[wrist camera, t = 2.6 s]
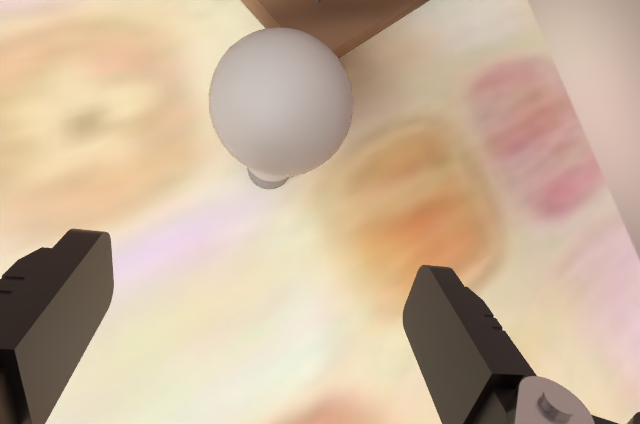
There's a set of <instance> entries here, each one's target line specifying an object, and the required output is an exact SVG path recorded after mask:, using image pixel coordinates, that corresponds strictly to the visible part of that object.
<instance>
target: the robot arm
mask: <svg viewBox="0 0 640 424" xmlns="http://www.w3.org/2000/svg"><path fill="white" fill-rule="evenodd" d="M113 288H114V280H113V265H112V251H111V239H110V235H109V234H108V233H107V232H101V231H91V230H81V229H70V230H69V231H68V232H67V233H66V234H65V235H64V236H63V237H62V238H61V239H60V240H59V242H58V243H57V244H56V245H55V246H54V247H53V248H43V247H42V248H40V249H38V250H36V251H34V252H32V253H30V254H28V255H27V256H25V257H23V258H21V259H19V260H18V261H17V262H15V263H14V264H13V265H12V266H11V267H10V268H9V269H8V270H7V271H6V272H5V273H4V274H3V275H2V278H1V279H0V424H45V423H46V421H47V419H48V417H49V416H50V414H51V412H52V410H53V408H54V406H55V405H56V403H57V401H58V399H59V397H60V396H61V394H62V392H63V390H64V388H65V386H66V385H67V383H68V381H69V379H70V377H71V376H72V374H73V372H74V370H75V368H76V366H77V365H78V363H79V361H80V359H81V357H82V356H83V354H84V352H85V350H86V348H87V346H88V345H89V343H90V341H91V339H92V337H93V336H94V334H95V332H96V330H97V328H98V327H99V325H100V323H101V321H102V319H103V317H104V316H105V314H106V312H107V310H108V308H109V306H110V303H111V299H112V295H113ZM493 316H494V315H493V314H492V312H491V311H490V309H489V308H488V307H487V305H486V304H485V302H484V301H483V300H482V299H481V298H480V297H478V296H477V295H476V294H475V293H474V292H473V291H471V290H470V289H469V288H468V287H464V285H463V284H462V282H461V281H460V279H459V278H458V276H457V275H456V274H455V272H454V271H453V269H451V268H449V267H440V266H430V265H422V266H421V267H420V268H419V270H418V272H417V275H416V277H415V280H414V283H413V285H412V288H411V291H410V293H409V296H408V299H407V301H406V304H405V307H404V310H403V326H404V330H405V332H406V335H407V337H408V340H409V342H410V345H411V347H412V350H413V352H414V355H415V357H416V360H417V362H418V365H419V367H420V370H421V372H422V375H423V377H424V380H425V382H426V385H427V387H428V389H429V392H430V394H431V397H432V399H433V402H434V404H435V407H436V409H437V412H438V414H439V417H440V419H441V422H442V424H618V423H615V422H612V421H609V420H606V419H603V418H599V417H596V416H593V415H591V414H590V412H589V411H588V409H587V408H586V407H585V405H584V404H583V403H582V402H581V401H580V400H579V399H578V398H577V397H576V396H575V395H574V394H572V393H571V392H570V391H569V390H567V389H566V388H564V387H563V386H561V385H559V384H558V383H556V382H554V381H552V380H549V379H546V378H543V377H539V376H537V375H536V374H535V373H534V371H533V370H532V368H531V367H530V366H529V364H528V363H527V361H526V360H525V359H524V357H523V356H522V354H521V353H520V352H519V350H518V349H517V347H516V346H515V344H514V343H513V342H512V340H511V339H510V337H509V336H508V335H507V333H506V332H505V331H503V330H502V326H501V325H500V323H499V322H498V321H497V319H496V318H494V317H493ZM627 424H640V412H638V413H636V414H635V415H634V416H633V417H632V419H631V420H630V421H629V422H628V423H627Z"/></svg>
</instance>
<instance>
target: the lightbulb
mask: <svg viewBox="0 0 640 424" xmlns="http://www.w3.org/2000/svg"><path fill="white" fill-rule="evenodd" d="M209 110H210V116H211V120H212V124H213V127H214V129H215V131H216V133H217V135H218V137H219V139H220V140H221V142H222V144H223V145H224V146H225V148H226V149H227V150H228V151H229V153H230V154H231V155H232V156H233V157H235V158H236V159H237V160H238V161H239V162H240V163H242V164H244V165H245V166H247V168H248V173H249V176H250V178H251V180H252V181H253V182H254V183H255V184H256V185H257V186H259V187H261V188H264V189H275V188H278V187H280V186H281V185H283V184H284V183H285V182H286V180H287V179H288V177H289V176H294V175H299V174H303V173H306V172H308V171H311V170H313V169H315V168H317V167H318V166H319V165H321V164H322V163H324V162H325V161H327V160H328V159H329V158H331V157H332V155H333V154H334V153H335V152H336V151H337V150H338V149H339V147H340V145H341V144H342V142H343V140H344V138H345V137H346V135H347V133H348V130H349V127H350V123H351V119H352V111H353V97H352V90H351V84H350V81H349V78H348V75H347V73H346V71H345V69H344V67H343V66H342V64H341V62H340V61H339V59H338V57H337V56H336V55H335V54H334V53H333V52H332V50H331V49H330V48H328V47H327V46H326V45H325V44H324V43H322V42H321V41H320V40H318V39H317V38H315V37H313V36H311V35H310V34H307V33H305V32H302V31H300V30H295V29H291V28H269V29H263V30H259V31H256V32H253V33H251V34H249V35H247V36H245V37H243V38H242V39H240V40H239V41H237V42H236V43H235V44H234V45H232V46H231V47H230V48H229V49H228V50H227V52H226V53H225V54H224V55H223V57H222V58H221V60H220V61H219V63H218V65H217V67H216V69H215V72H214V74H213V77H212V81H211V86H210V91H209Z"/></svg>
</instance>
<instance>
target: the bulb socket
mask: <svg viewBox="0 0 640 424" xmlns="http://www.w3.org/2000/svg"><path fill="white" fill-rule="evenodd" d="M241 1H242V2H243V3H244V4H245V6H246V7H247V8H248V9H249V10H250V11H251V12H252V13H253V15H254V16H255V17H256V18H257V19H258V20H259V21H260V22H261V23H262V25H263V26H264V27H265V28H266V29H269V28H291V29H295V30H300V31H302V32H305V33H307V34H310V35H311V36H313V37H315V38H317V39H318V40H320V41H321V42H322V43H324V44H325V45H326V46H327V47H328V48H330V49H331V50H332V52H333V53H334V54H335V55H336V56H337V57H338V58H339V57H341V56H342V55H344V54H346V53H347V52H349V51H350V50H352V49H353V48H355V47H357V46H358V45H360V44H361V43H363V42H364V41H366V40H368V39H369V38H371V37H372V36H374V35H376V34H377V33H379V32H380V31H382V30H383V29H385V28H387V27H388V26H390V25H391V24H393V23H394V22H396V21H398V20H399V19H401V18H402V17H404V16H406V15H407V14H409V13H410V12H412V11H413V10H415V9H417V8H418V7H420V6H421V5H423V4H425V3H426V2H428V1H429V0H241Z"/></svg>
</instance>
